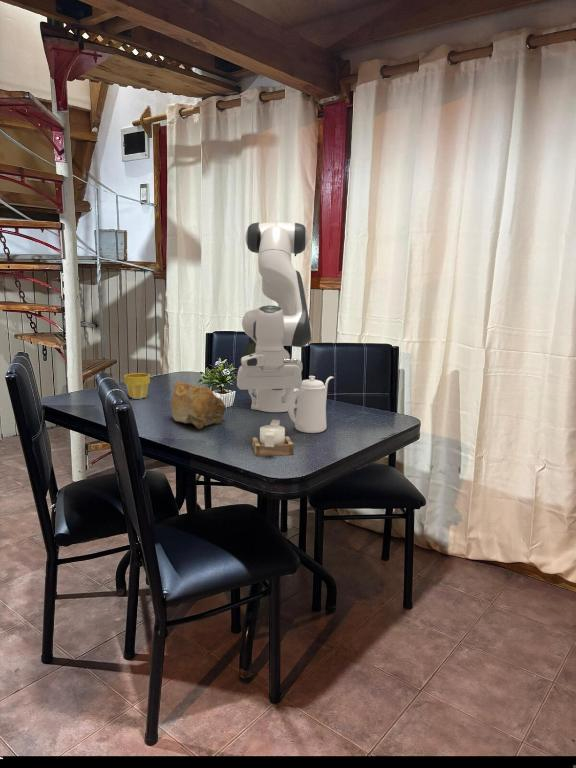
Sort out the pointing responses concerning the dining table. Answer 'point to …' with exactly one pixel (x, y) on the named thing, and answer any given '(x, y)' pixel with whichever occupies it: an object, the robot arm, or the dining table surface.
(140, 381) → the plant pot
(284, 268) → the robot arm
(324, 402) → the coffeepot
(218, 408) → the rough brown rock
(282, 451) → the cradle
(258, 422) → the dining table surface
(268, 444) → the white bar with bulge
